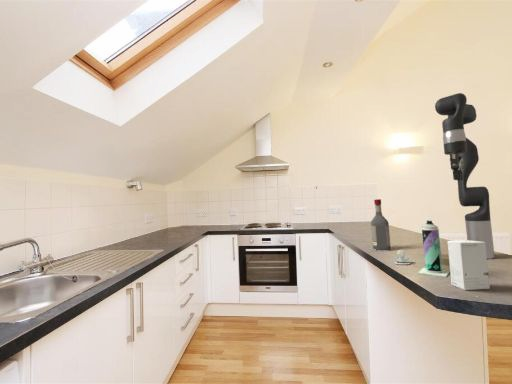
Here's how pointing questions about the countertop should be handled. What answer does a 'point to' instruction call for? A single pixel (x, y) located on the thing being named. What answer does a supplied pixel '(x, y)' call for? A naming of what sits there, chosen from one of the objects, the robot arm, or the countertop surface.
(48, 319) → the countertop surface
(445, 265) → the wooden box holder
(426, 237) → the spray can
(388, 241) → the liquor
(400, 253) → the pacifier
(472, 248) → the skincare box
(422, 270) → the mat
